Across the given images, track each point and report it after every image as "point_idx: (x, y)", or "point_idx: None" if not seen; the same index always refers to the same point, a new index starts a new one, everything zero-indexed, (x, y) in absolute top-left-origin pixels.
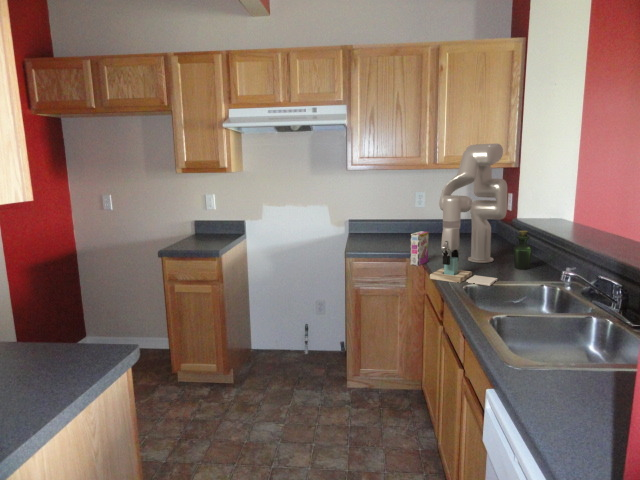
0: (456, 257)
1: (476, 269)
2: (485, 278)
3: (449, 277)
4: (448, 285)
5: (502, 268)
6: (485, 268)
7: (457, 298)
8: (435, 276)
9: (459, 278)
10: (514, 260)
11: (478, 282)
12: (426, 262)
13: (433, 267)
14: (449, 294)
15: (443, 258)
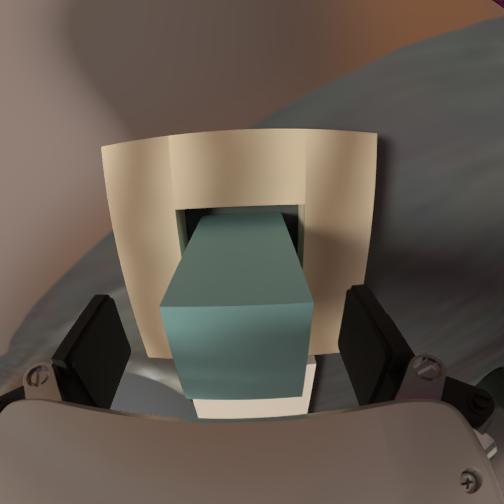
0: (301, 387)
1: (476, 290)
2: (274, 409)
3: (131, 299)
4: (78, 306)
5: (488, 353)
6: (490, 311)
7: (16, 366)
8: (112, 193)
9: (147, 353)
10: (499, 392)
11: (195, 403)
12: (496, 2)
13: (446, 42)
14: (15, 341)
15: (72, 339)
